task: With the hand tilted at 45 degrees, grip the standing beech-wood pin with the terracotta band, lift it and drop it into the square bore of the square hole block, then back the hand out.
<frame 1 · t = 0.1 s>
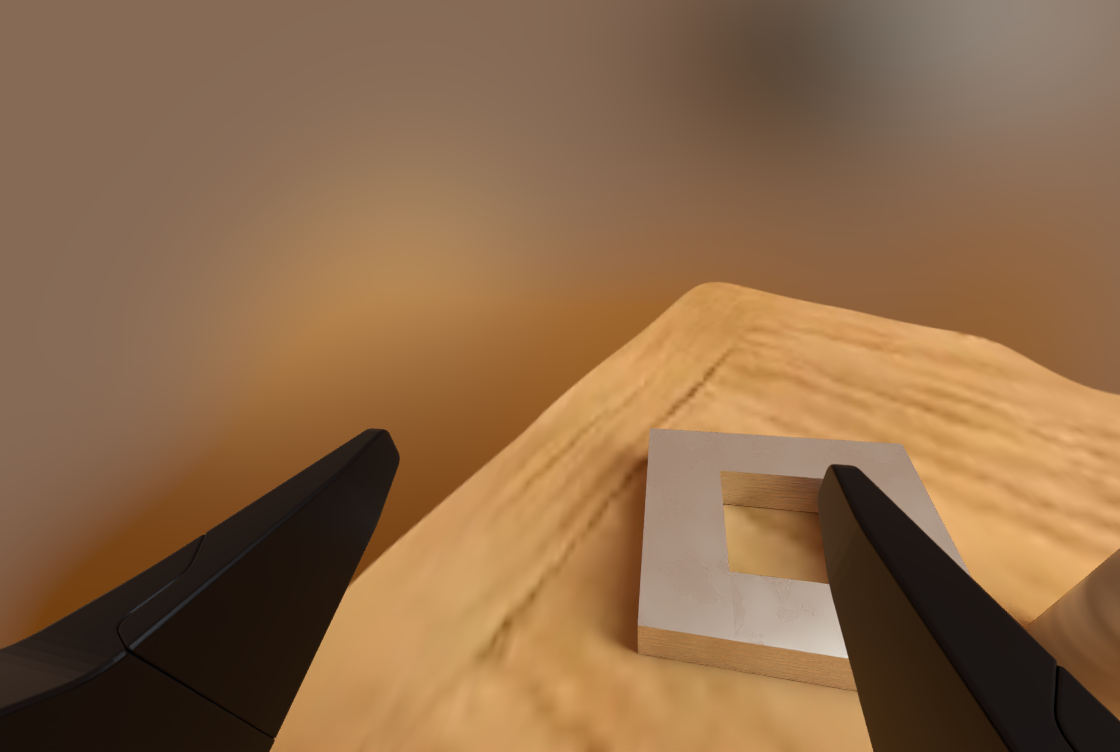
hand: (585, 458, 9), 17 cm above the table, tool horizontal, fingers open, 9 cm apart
square hole block: (776, 554, 24), on the table
beech pin: (1077, 676, 19), on the table
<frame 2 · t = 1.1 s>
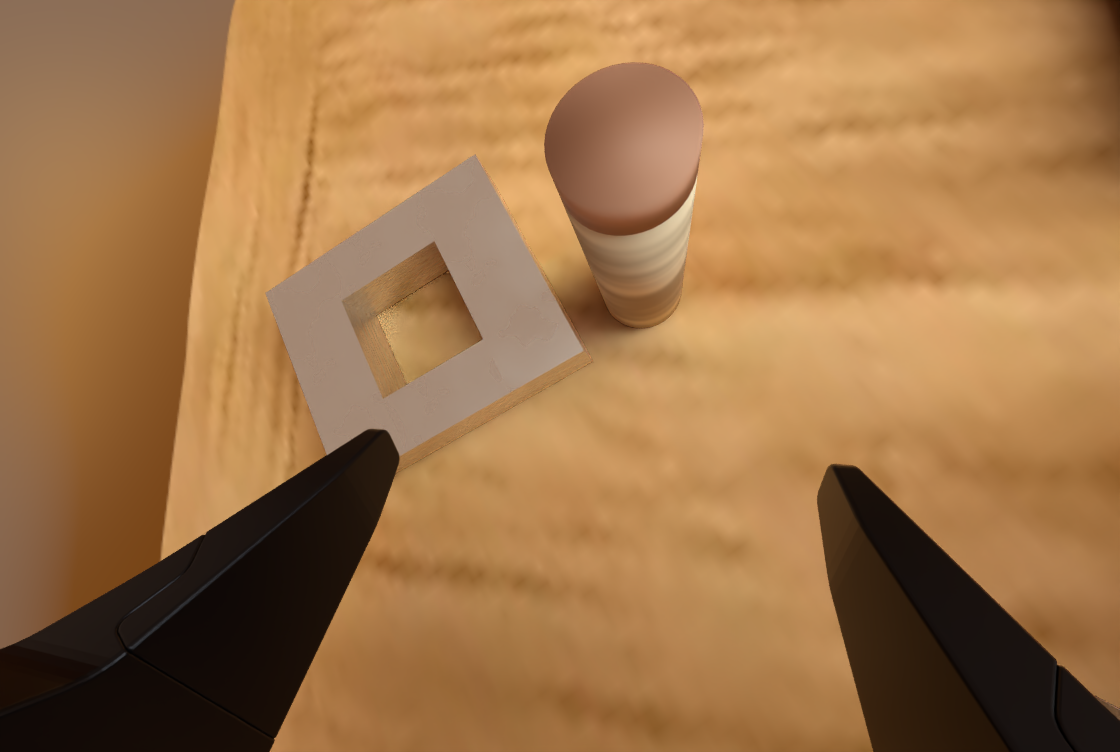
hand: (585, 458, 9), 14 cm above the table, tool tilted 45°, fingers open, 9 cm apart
square hole block: (437, 332, 26), on the table
beech pin: (641, 290, 23), on the table
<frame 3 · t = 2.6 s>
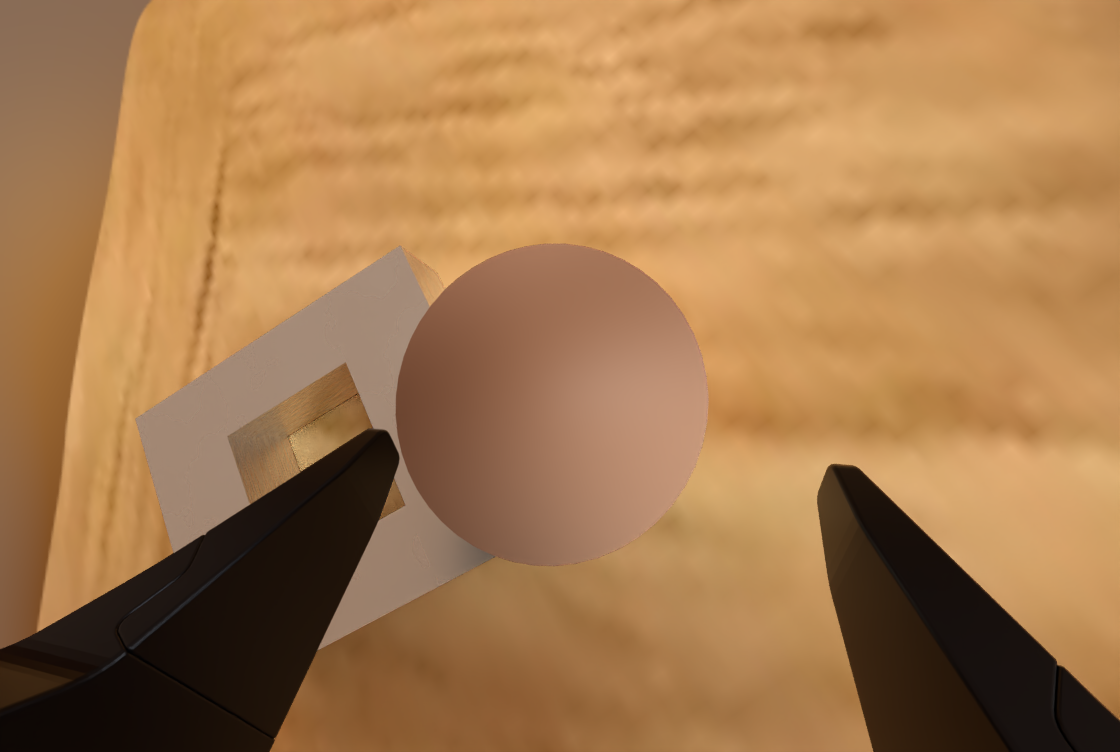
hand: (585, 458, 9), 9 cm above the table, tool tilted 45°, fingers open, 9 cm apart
square hole block: (361, 464, 20), on the table
beech pin: (622, 424, 18), on the table
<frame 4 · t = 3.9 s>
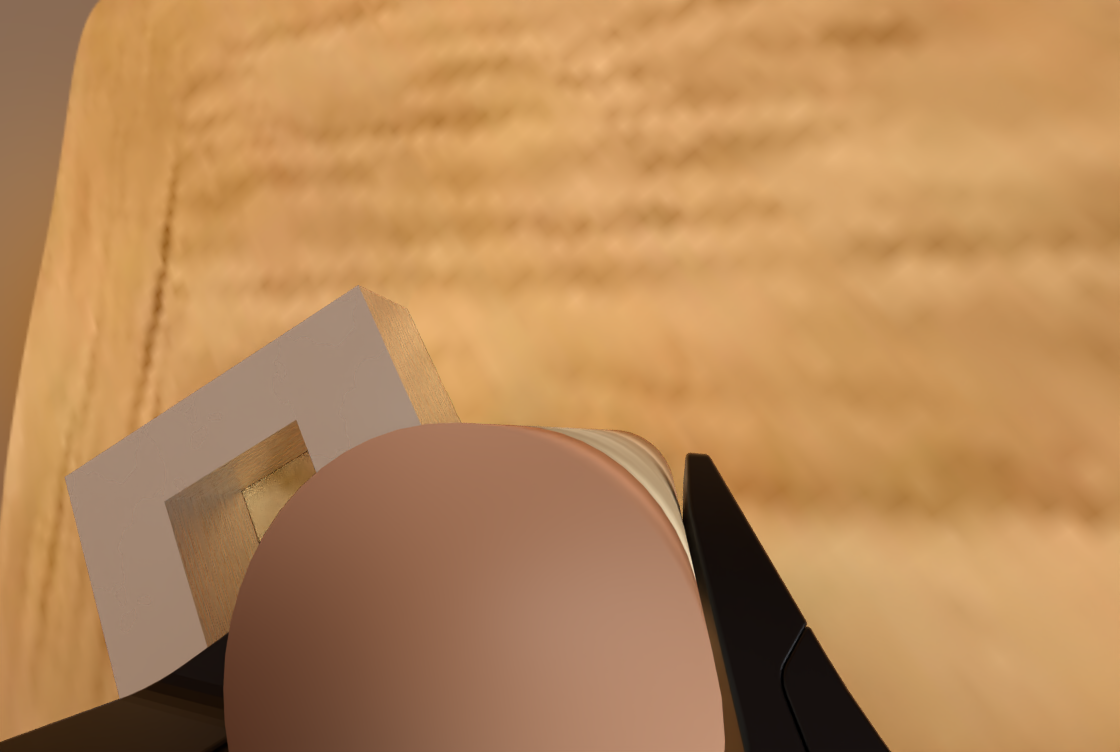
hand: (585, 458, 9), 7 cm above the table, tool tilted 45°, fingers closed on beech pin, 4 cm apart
square hole block: (322, 525, 18), on the table
beech pin: (614, 488, 15), on the table, touching gripper
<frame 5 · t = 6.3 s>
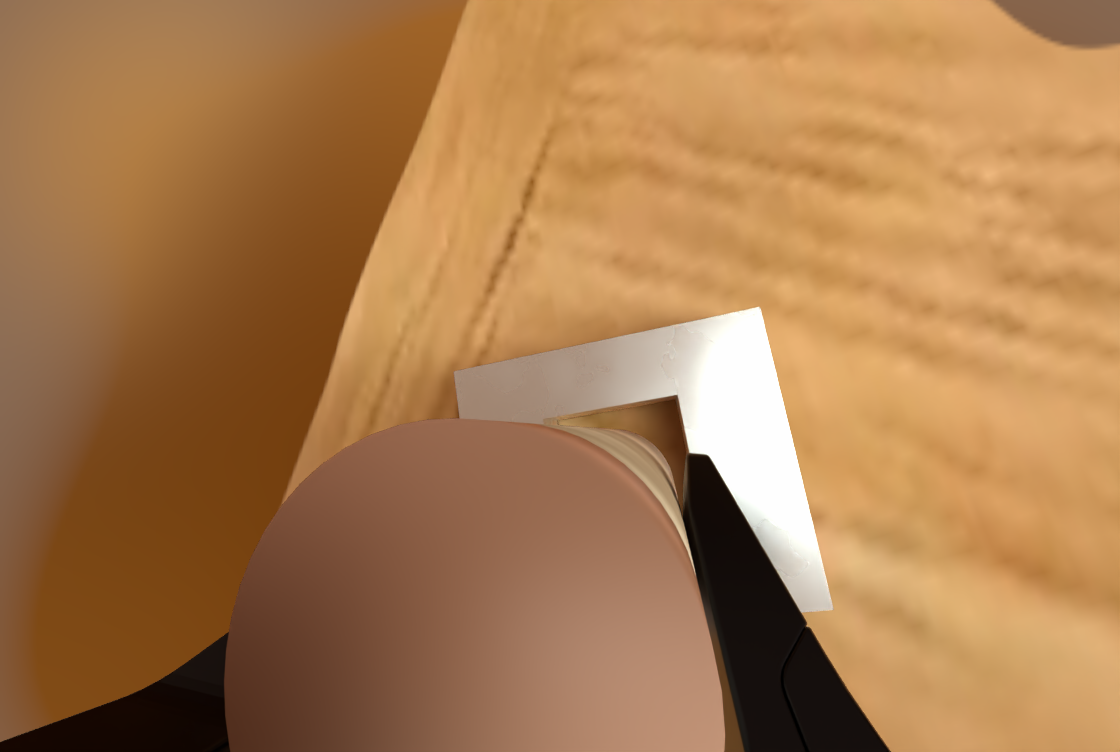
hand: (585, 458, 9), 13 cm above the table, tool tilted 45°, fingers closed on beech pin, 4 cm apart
square hole block: (626, 470, 22), on the table
beech pin: (614, 487, 15), point 7 cm above the table, touching gripper
when the fingers open (8 cm above the table, at t = 8.5 s): beech pin drops 1 cm, resting in square hole block.
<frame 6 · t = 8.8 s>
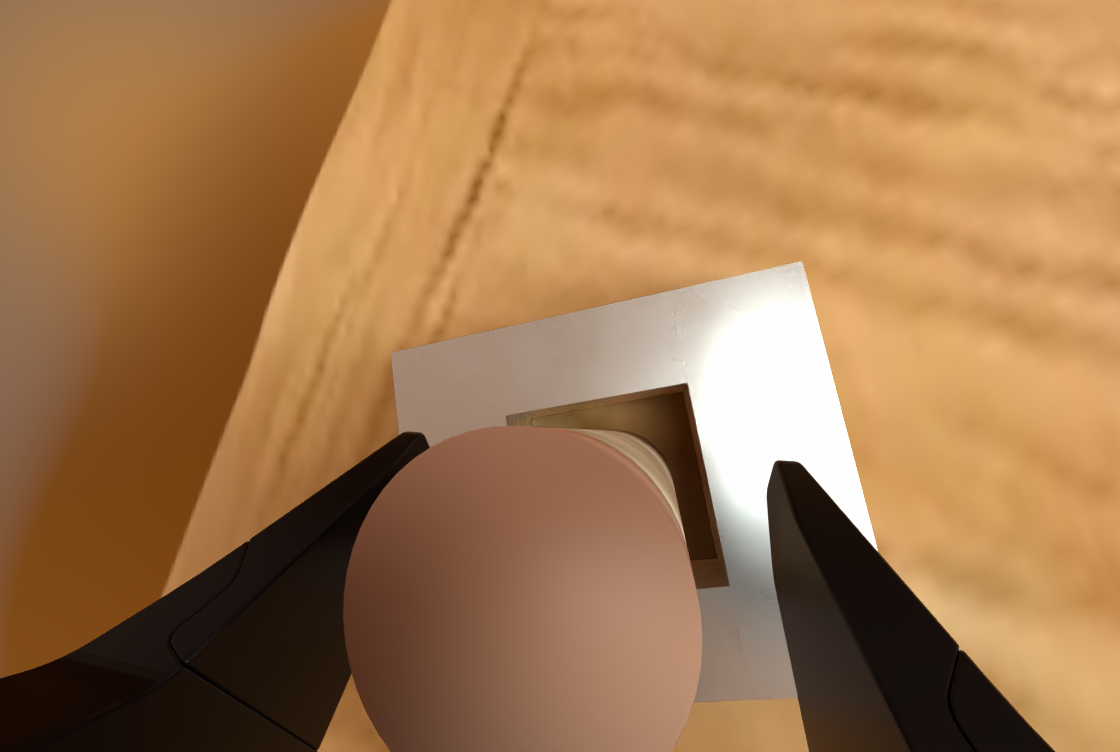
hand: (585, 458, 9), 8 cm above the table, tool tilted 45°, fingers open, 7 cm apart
square hole block: (618, 483, 17), on the table
beech pin: (618, 484, 17), resting in square hole block
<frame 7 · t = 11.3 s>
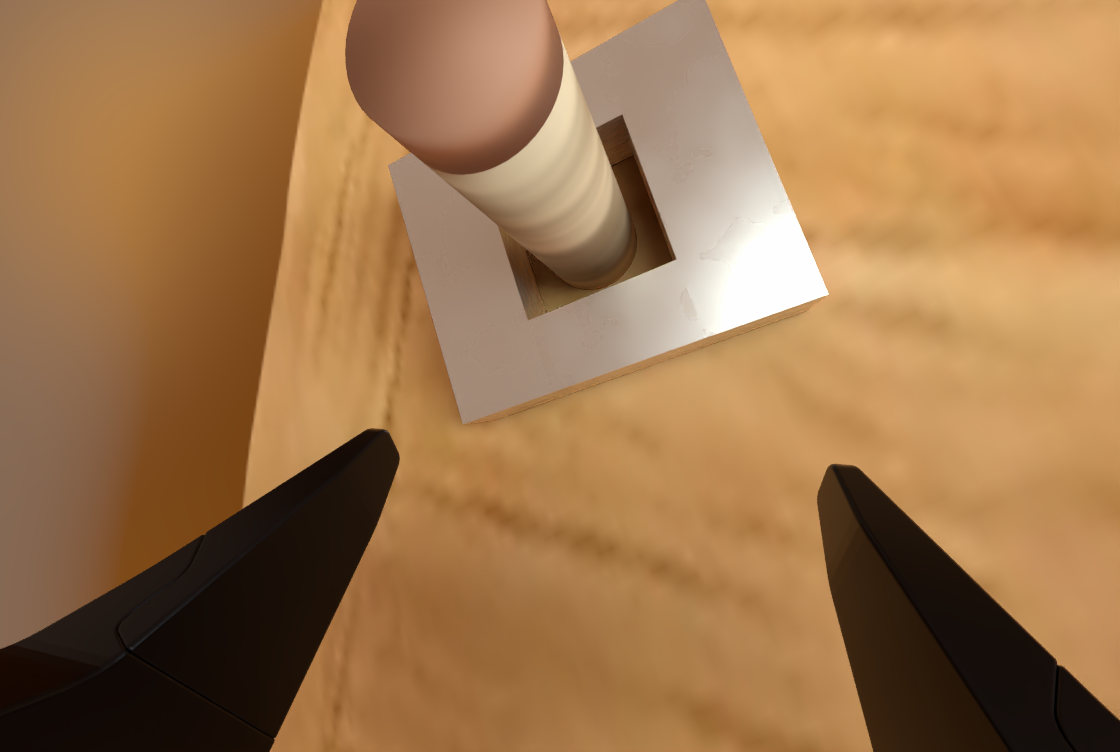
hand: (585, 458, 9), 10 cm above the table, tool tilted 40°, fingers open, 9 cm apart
square hole block: (591, 244, 20), on the table
beech pin: (592, 245, 20), resting in square hole block
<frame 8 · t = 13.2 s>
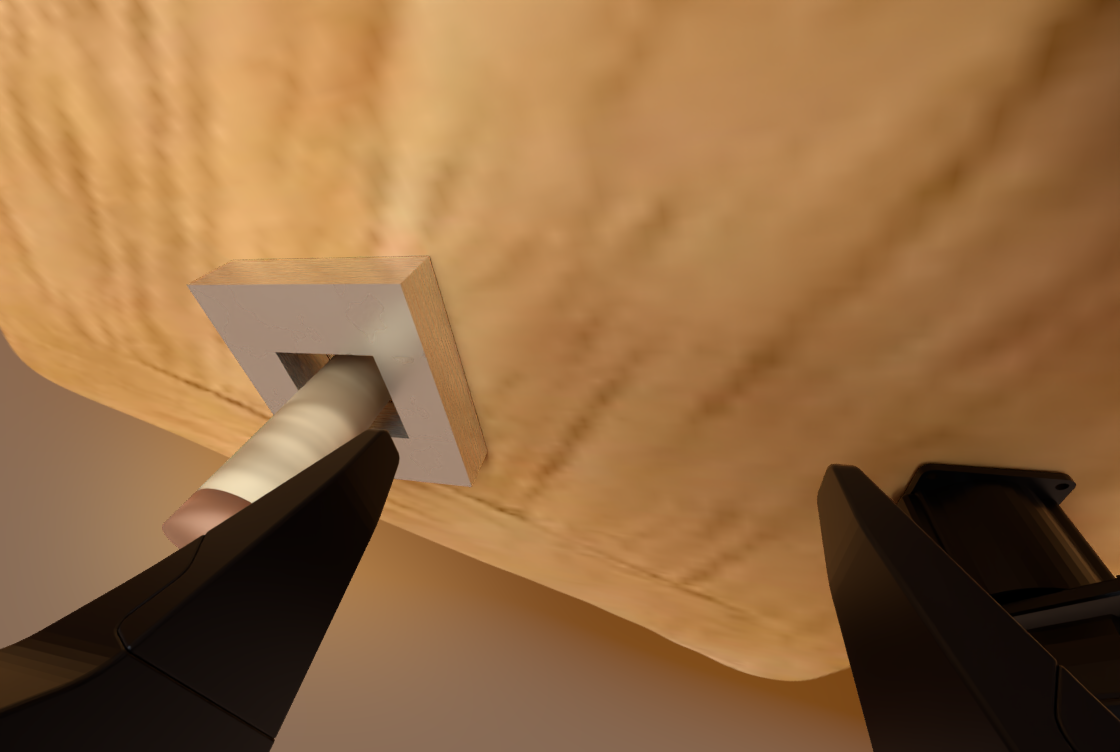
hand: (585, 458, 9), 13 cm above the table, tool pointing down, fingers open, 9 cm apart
square hole block: (373, 365, 28), on the table
beech pin: (373, 365, 28), resting in square hole block
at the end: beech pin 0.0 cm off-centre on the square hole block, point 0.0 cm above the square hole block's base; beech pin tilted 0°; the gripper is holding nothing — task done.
